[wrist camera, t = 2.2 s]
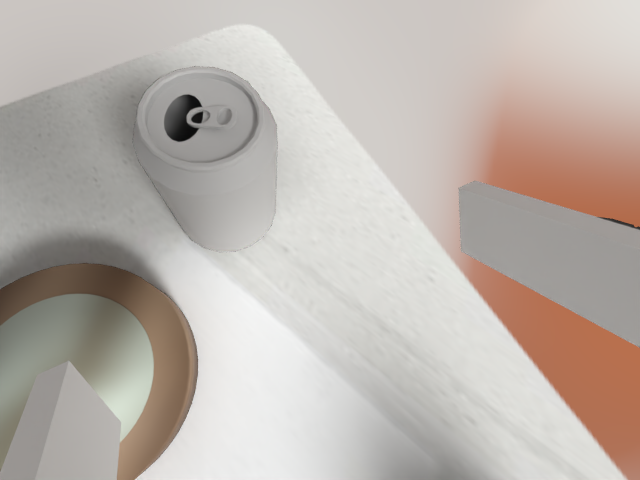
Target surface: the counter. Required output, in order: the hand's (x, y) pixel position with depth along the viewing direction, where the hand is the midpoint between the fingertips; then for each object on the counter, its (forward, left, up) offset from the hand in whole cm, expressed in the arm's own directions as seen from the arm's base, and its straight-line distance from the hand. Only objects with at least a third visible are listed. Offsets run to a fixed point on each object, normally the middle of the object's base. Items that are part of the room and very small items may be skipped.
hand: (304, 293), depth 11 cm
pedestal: (-12, -6, -15) cm, 20 cm away
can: (-7, +8, -16) cm, 19 cm away
